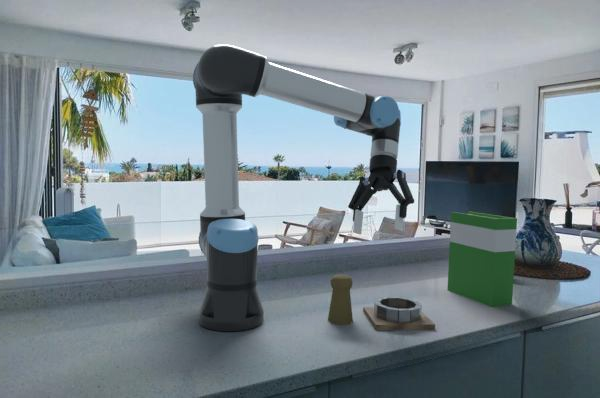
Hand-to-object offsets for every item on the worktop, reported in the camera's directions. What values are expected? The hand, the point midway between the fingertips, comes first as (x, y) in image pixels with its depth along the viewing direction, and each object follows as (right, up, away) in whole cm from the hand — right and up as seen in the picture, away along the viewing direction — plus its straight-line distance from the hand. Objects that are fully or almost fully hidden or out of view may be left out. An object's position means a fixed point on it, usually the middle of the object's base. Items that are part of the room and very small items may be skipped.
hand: (377, 231), depth 124 cm
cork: (-11, -21, -12) cm, 26 cm away
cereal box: (+31, -20, +11) cm, 39 cm away
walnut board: (+3, -21, -11) cm, 24 cm away
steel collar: (+3, -19, -11) cm, 23 cm away
